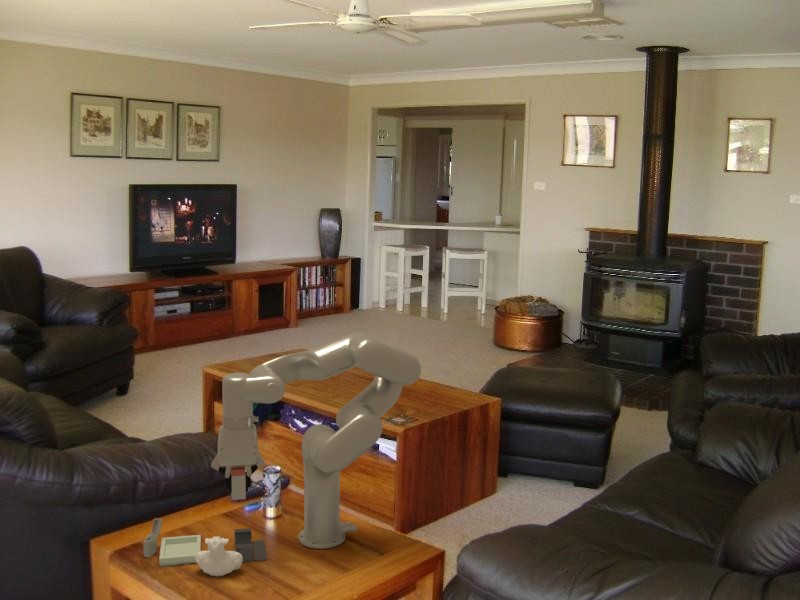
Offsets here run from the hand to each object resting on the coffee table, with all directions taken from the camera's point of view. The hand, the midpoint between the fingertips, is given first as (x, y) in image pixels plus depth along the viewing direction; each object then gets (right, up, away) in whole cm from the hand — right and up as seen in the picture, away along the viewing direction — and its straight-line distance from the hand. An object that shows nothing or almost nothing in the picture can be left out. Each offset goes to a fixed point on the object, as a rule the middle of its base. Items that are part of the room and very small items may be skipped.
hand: (238, 489), depth 222 cm
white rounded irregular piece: (-3, -19, -8) cm, 21 cm away
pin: (0, -2, 0) cm, 2 cm away
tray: (-15, -17, +2) cm, 23 cm away
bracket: (+3, -17, +4) cm, 18 cm away
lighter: (-23, -17, +3) cm, 29 cm away
